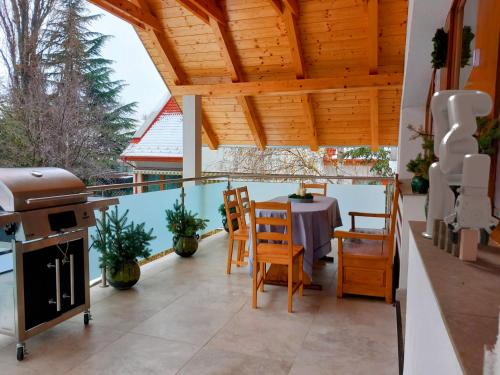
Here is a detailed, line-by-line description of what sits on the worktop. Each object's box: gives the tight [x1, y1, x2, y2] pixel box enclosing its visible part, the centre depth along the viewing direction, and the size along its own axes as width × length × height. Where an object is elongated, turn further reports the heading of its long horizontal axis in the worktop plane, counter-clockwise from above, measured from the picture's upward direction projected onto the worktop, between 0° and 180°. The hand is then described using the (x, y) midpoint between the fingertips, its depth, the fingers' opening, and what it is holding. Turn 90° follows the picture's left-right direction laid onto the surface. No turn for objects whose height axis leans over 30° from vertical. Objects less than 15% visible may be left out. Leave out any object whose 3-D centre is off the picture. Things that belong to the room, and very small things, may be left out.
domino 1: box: [431, 219, 444, 246], centre depth 144 cm, size 2×5×10 cm, turn 89°
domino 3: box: [443, 224, 453, 253], centre depth 134 cm, size 2×5×10 cm, turn 89°
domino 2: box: [437, 221, 454, 250], centre depth 139 cm, size 2×5×10 cm, turn 89°
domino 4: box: [451, 227, 470, 257], centre depth 129 cm, size 2×5×10 cm, turn 89°
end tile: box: [458, 229, 479, 262], centre depth 124 cm, size 2×5×10 cm, turn 89°
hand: (468, 244), depth 124 cm, fingers open, 9 cm apart
